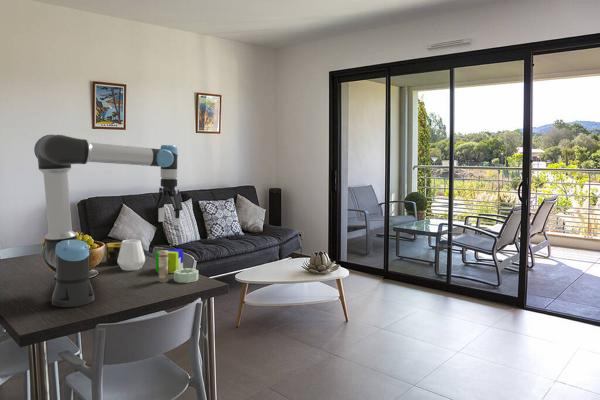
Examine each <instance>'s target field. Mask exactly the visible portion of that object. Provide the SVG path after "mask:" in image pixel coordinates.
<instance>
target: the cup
mask: <svg viewBox="0 0 600 400" xmlns="http://www.w3.org/2000/svg"><path fill="white" fill-rule="evenodd" d="M121 243H122V244H121V248H120V252H119V256H118V260H117V262H118V264H119V265H118V266H119V267H120V269H121V270H123V271H129V272H130V271H137V270H141V269H142V267H143V265H144V264H145V262H146V256H145V253H144V249H143V245H142V242H141V240H139V239H124V240H122V241H121ZM140 268H141V269H140Z"/></svg>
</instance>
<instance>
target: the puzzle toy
mask: <svg viewBox="0 0 600 400" xmlns="http://www.w3.org/2000/svg"><path fill="white" fill-rule="evenodd" d="M161 250H167V251H168V274H174V271H176V270H178V269H183V268H184V249H183V248H168V247H167V248H166V247H164V248H162V249H160V250H158V251H156V253H155V254H156V255H155V272H156V273H159V251H161Z"/></svg>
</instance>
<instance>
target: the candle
mask: <svg viewBox="0 0 600 400" xmlns="http://www.w3.org/2000/svg"><path fill="white" fill-rule="evenodd" d="M121 244H122V242H107V243H106V254H105V255H106V257H105V258H106V260H105V261H106V264H107V266H109V267H111V266H119V264H118V262H117V260H118V256H119V252H120V248H121Z"/></svg>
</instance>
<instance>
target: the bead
mask: <svg viewBox="0 0 600 400" xmlns="http://www.w3.org/2000/svg"><path fill="white" fill-rule="evenodd" d="M198 280H199V270H198V269H195V268H187V267H183V269H178V270H176V271H174V273H173V281H174V282H177V283H183V284H185V283H186V284H189V283H193V282H197V281H198Z"/></svg>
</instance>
